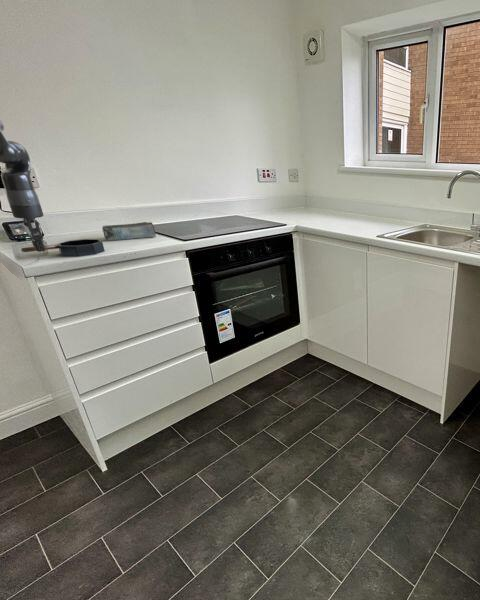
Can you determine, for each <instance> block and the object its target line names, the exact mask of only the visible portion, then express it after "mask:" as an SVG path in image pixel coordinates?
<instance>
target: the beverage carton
mask: <svg viewBox="0 0 480 600" xmlns="http://www.w3.org/2000/svg"><path fill="white" fill-rule="evenodd" d="M102 232H103V237H104V239H105V241H106V242H108V241H121V240H131V239H132V240H134V239H145V238H154V237H155V238H156V228H155V226H154V224H153V222H152V221H151V222H150V221H149V222H147V221H143V222H135V223H123V224H109V225H108V224H107V225H102Z"/></svg>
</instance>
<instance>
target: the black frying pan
mask: <svg viewBox="0 0 480 600" xmlns="http://www.w3.org/2000/svg"><path fill="white" fill-rule="evenodd" d="M44 247H45V251H47V250H56V249H58V251H59V255H61V256H62V257H65V258H66V257H68V258H69V257H70V258H71V257H74V258H77V257H85V256H94V255H98V254H101V253H104V252H105V251H106V250H105V246H104V243H103V241H102V240H101V239H98V238H95V239H94V238H84V239H83V238H82V239H75V240H73V239H72V240H66V241H62V242H58V243H54V244H44ZM20 251H21V252H23V253H31V252H38V251H37V250H36V247H34V246H26V247H22V248H21V249H20Z"/></svg>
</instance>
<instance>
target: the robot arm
mask: <svg viewBox="0 0 480 600" xmlns="http://www.w3.org/2000/svg"><path fill="white" fill-rule="evenodd" d="M4 130H5V126H4V124H3V122H2V121H1V120H0V163H1V164H4V169H5V170H3V171H2V172H1V173H0V177H1V181H2V184H3V188H4V191H5V195H6V199H7V202H8V205H9V208H10V211H11V214H12V216H13V218H15V219H22V221H23V222H22V225H23V227H24V229H25V231H26V233H27V234H28V236H29V238H30V240H31V243H32V247H36V250H37V251H36V252H38V253H39V252H45V251H46V250H45V247H44V245H45V244H44V237H43V231H42V229H41V228H42V227H41V226H42V225H41V223H40V222H39V221H36V219H37V218H42V217H43V218H44V212H43V211H44V210H43V208H42V204H41V202H40V198H39V196H38V193H37V192H36V189H35V186H34V183H33V180H32V177H31V158H30V154H29V153H28V151H27V149H26V147H25V146H24V145H22V144H21V143H19V142H17V141H13V140H7V138H6V137H5V135H4V134H3V133H4Z"/></svg>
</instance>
